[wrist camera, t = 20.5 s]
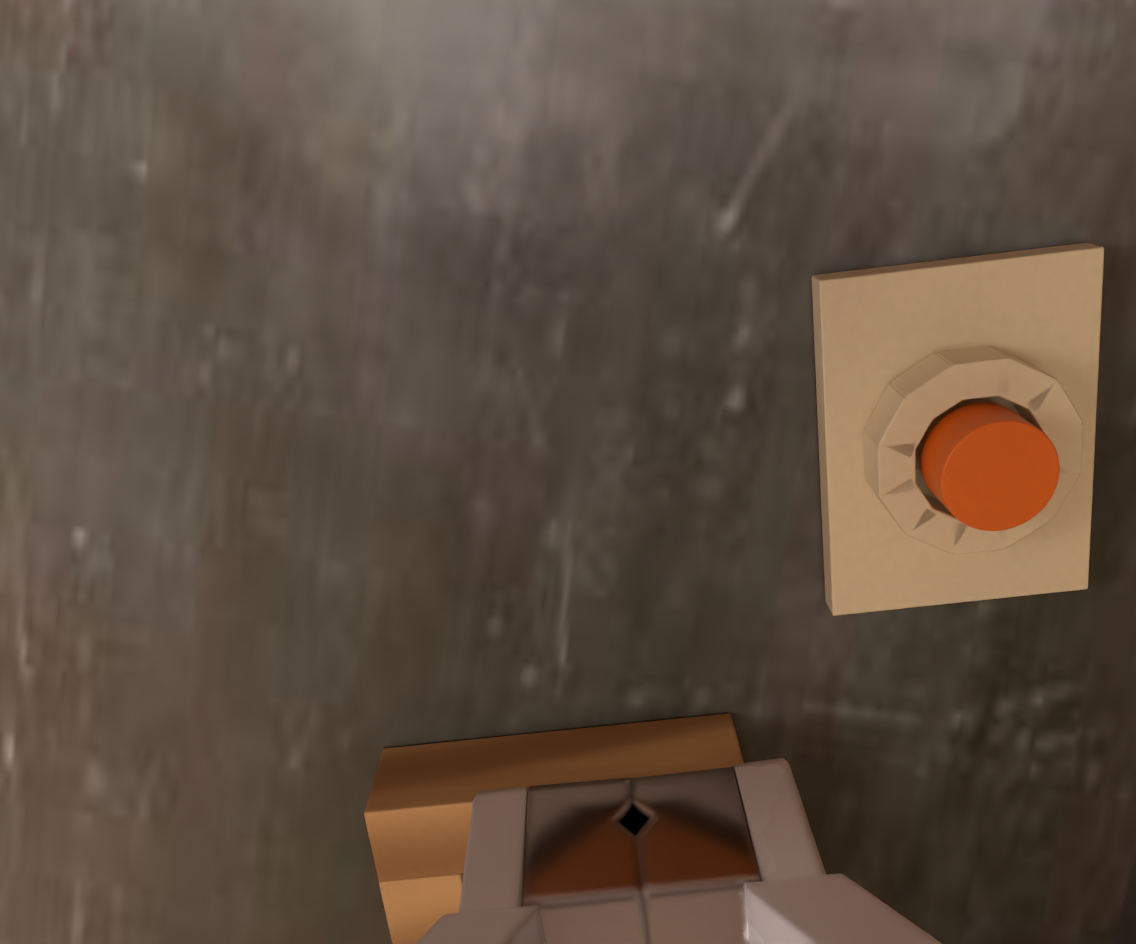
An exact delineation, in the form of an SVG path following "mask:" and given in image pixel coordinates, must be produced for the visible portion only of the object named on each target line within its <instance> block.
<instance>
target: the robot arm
mask: <svg viewBox="0 0 1136 944" xmlns="http://www.w3.org/2000/svg"><path fill="white" fill-rule="evenodd" d="M416 944H942V943H940V942H939V941H938V940H936V939H935V938H933V937H932V936H931V935H929V934H928V933H926V932H925V931H923V930H922V929H921V928H919V927H918V926H916V925H915V924H913V923H912V922H911V921H909V920H908V919H906V918H905V917H903V916H902V915H901V914H899V913H898V912H896V911H895V910H894V909H892V908H891V907H889V906H888V905H886V904H885V903H884V902H882V901H881V900H879V899H878V898H876V897H875V896H874V895H872V894H871V893H869V892H868V891H866V890H865V889H864V888H862V887H861V886H859V885H858V884H857V883H855V882H854V881H852V880H851V879H849V878H848V877H847V876H845V875H844V874H830V875H826V873H825V870H824V867H823V864H822V861H821V858H820V855H819V852H818V849H817V846H816V843H815V840H814V837H813V834H812V831H811V828H810V825H809V822H808V819H807V816H806V813H805V810H804V807H803V804H802V801H801V798H800V795H799V792H798V789H797V786H796V783H795V780H794V778H793V775H792V772H791V769H790V766H789V763H788V762H787V761H786V760H785V759H783V758H778V759H771V760H764V761H757V762H749V763H742V764H735V765H732V767H726V768H717V769H708V770H699V771H691V772H682V773H673V774H664V775H655V776H647V777H638V778H631V777H629V778H618V779H606V780H594V781H583V782H571V783H559V784H548V785H536V786H530V787H529V788H527V787H517V788H507V789H498V790H488V791H478V793H477V795H476V796H475V798H474V800H473V804H472V811H471V819H470V827H469V835H468V843H467V851H466V858H465V866H464V874H463V882H462V890H461V897H460V905H459V913H454V914H446V915H443V916H442V917H441V918H440V919H439V920H438V921H437V922H436V923H435V924H434V925H433V926H432V927H431V928H430V929H429V930H428V931H427V932H426V934H425V935H424V936H423V937H422V938H421V939H420V940H419V941H418V942H417V943H416Z"/></svg>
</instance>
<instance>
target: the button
mask: <svg viewBox="0 0 1136 944" xmlns="http://www.w3.org/2000/svg"><path fill="white" fill-rule="evenodd" d="M921 471H922V475H923V478H924V481H925V483H926V485H927V487H928V488H929V490H930V491H931V492H932V493H933V494H934V496H935V497H936V498H937V499H938V500H939V501H940V502H941V503H942V504H943V505H944V506H945V507H946V508H947V509H948V510H949V511H950V513H951V514H952V515H953V516H954V517H956V518H957V519H958V520H959V521H960V522H962V523H963V524H965V525H967V526H969V527H972V528H975V529H978V530H983V531H1001V530H1007V529H1011V528H1014V527H1017V526H1019V525H1022V524H1023V523H1025V522H1027V521H1029V520H1030V519H1032V518H1033V517H1035V516H1036V515H1037V514H1038V513H1039V512H1040V511H1041V510H1042V509H1043V508H1044V507H1045V506H1046V505H1047V503H1048V502H1049V500H1050V499H1051V497H1052V495H1053V494H1054V492H1055V489H1056V486H1057V483H1058V479H1059V472H1060V468H1059V458H1058V454H1057V451H1056V449H1055V447H1054V445H1053V443H1052V442H1051V440H1050V439H1049V437H1048V436H1047V435H1046V434H1045V433H1044V432H1042V431H1041V430H1039V429H1038V428H1037V427H1035V426H1034V425H1032V424H1031V423H1029V422H1028V421H1026V420H1025V419H1024V418H1022V417H1021V416H1019V415H1018V414H1016V413H1015V412H1013V411H1012V410H1010V409H1008V408H1006V407H1004V406H1001V405H997V404H992V403H976V404H971V405H967V406H964V407H961V408H959V409H956V410H954V411H953V412H951V413H949V414H948V415H946V416H945V417H944V418H942V419H941V420H940V421H939V422H938V423H937V424H936V425H935V427H934V428H933V429H932V430H931V432H930V433H929V435H928V437H927V439H926V441H925V443H924V446H923V449H922V454H921Z"/></svg>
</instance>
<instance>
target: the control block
mask: <svg viewBox="0 0 1136 944" xmlns="http://www.w3.org/2000/svg"><path fill="white" fill-rule="evenodd" d="M1103 264H1104V247H1101V246H1097V245H1093V244H1089V243H1080V244H1072V245H1063V246H1055V247H1046V248H1038V249H1029V250H1021V251H1013V252H1004V253H996V254H987V255H979V256H970V257H962V258H954V259H945V260H937V261H928V262H920V263H911V264H903V265H895V266H886V267H878V268H869V269H861V270H852V271H844V272H836V273H827V274H819V275H813V276H812V298H813V322H814V345H815V369H816V392H817V416H818V439H819V463H820V486H821V510H822V533H823V557H824V580H825V601H826V603H827V605H828V607H829V609H830V611H831V613H832V614H833V615H834V616H836V615H846V614H855V613H864V612H874V611H883V610H893V609H902V608H912V607H921V606H931V605H940V604H950V603H959V602H969V601H978V600H988V599H997V598H1007V597H1016V596H1025V595H1035V594H1044V593H1054V592H1063V591H1073V590H1082V589H1087V588H1088V574H1089V554H1090V533H1091V512H1092V491H1093V471H1094V450H1095V429H1096V409H1097V388H1098V367H1099V347H1100V326H1101V305H1102V284H1103ZM976 403H992V404H997V405H1001V406H1004V407H1006V408H1008V409H1010V410H1012V411H1013V412H1015V413H1016V414H1018V415H1019V416H1021V417H1022V418H1024V419H1025V420H1026V421H1028V422H1029V423H1031V424H1032V425H1034V426H1035V427H1037V428H1038V429H1039V430H1041V431H1042V432H1044V433H1045V434H1046V435H1047V436H1048V437H1049V439H1050V440H1051V442H1052V443H1053V445H1054V447H1055V449H1056V451H1057V454H1058V458H1059V468H1060V472H1059V479H1058V483H1057V486H1056V489H1055V492H1054V494H1053V495H1052V497H1051V499H1050V500H1049V502H1048V503H1047V505H1046V506H1045V507H1044V508H1043V509H1042V510H1041V511H1040V512H1039V513H1038V514H1037V515H1036V516H1035V517H1033V518H1032V519H1030V520H1029V521H1027V522H1025V523H1023V524H1022V525H1019V526H1017V527H1014V528H1011V529H1007V530H1001V531H983V530H978V529H975V528H972V527H969V526H967V525H965V524H963V523H962V522H960V521H959V520H958V519H957V518H956V517H954V516H953V515H952V514H951V513H950V511H949V510H948V509H947V508H946V507H945V506H944V505H943V504H942V503H941V502H940V501H939V500H938V499H937V498H936V497H935V496H934V494H933V493H932V492H931V491H930V490H929V488H928V487H927V485H926V483H925V481H924V478H923V475H922V471H921V454H922V449H923V446H924V443H925V441H926V439H927V437H928V435H929V433H930V432H931V430H932V429H933V428H934V427H935V425H936V424H937V423H938V422H939V421H940V420H941V419H942V418H944V417H945V416H946V415H948V414H949V413H951V412H953V411H954V410H956V409H959V408H961V407H964V406H967V405H971V404H976Z"/></svg>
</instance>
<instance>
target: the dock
mask: <svg viewBox="0 0 1136 944" xmlns="http://www.w3.org/2000/svg"><path fill="white" fill-rule="evenodd" d="M742 763H744V761H743V757H742V754H741V750H740V746H739V742H738V739H737V735H736V731H735V727H734V724H733V720H732V716H731V714H730V713H726V714H716V715H706V716H697V717H687V718H677V719H667V720H657V721H648V722H638V723H628V724H618V725H609V726H599V727H589V728H579V729H569V730H560V731H550V732H540V733H530V734H521V735H511V736H501V737H491V738H481V739H472V740H462V741H452V742H442V743H433V744H423V745H413V746H403V747H393V748H384V749H383V750H382V754H381V757H380V760H379V764H378V767H377V771H376V774H375V778H374V781H373V785H372V788H371V791H370V795H369V798H368V802H367V805H366V809H365V812H364V816H365V821H366V825H367V830H368V835H369V839H370V844H371V848H372V853H373V857H374V862H375V867H376V871H377V876H378V880H379V885H380V890H381V895H382V899H383V904H384V908H385V913H386V917H387V922H388V927H389V931H390V936H391V940H392V944H416V943H417V942H418V941H419V940H420V939H421V938H422V937H423V936H424V935H425V934H426V932H427V931H428V930H429V929H430V928H431V927H432V926H433V925H434V924H435V923H436V922H437V921H438V920H439V919H440V918H441V917H442V916H443V915H446V914H454V913H459V905H460V897H461V890H462V882H463V874H464V866H465V858H466V851H467V843H468V835H469V827H470V819H471V811H472V804H473V800H474V798H475V796H476V795H477V793H478V791H488V790H498V789H507V788H517V787H527V788H529V787H530V786H536V785H548V784H559V783H571V782H583V781H594V780H606V779H618V778H629V777H631V778H638V777H647V776H655V775H664V774H673V773H682V772H691V771H699V770H708V769H717V768H726V767H732V765H735V764H742Z"/></svg>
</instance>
